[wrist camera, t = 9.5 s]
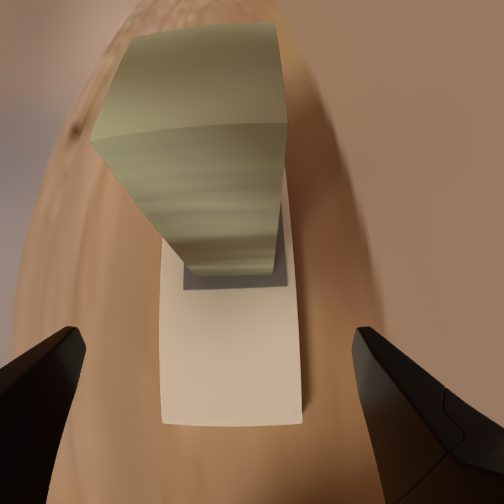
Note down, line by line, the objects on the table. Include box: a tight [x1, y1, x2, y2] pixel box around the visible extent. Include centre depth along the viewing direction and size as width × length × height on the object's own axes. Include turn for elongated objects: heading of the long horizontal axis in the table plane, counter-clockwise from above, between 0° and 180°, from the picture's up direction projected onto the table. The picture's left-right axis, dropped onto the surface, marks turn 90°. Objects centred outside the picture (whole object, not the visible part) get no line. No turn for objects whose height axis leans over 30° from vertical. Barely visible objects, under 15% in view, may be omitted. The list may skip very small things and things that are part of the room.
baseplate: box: [159, 168, 302, 426], centre depth 18 cm, size 16×8×1 cm, turn 2°
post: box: [89, 22, 288, 276], centre depth 13 cm, size 4×4×12 cm
